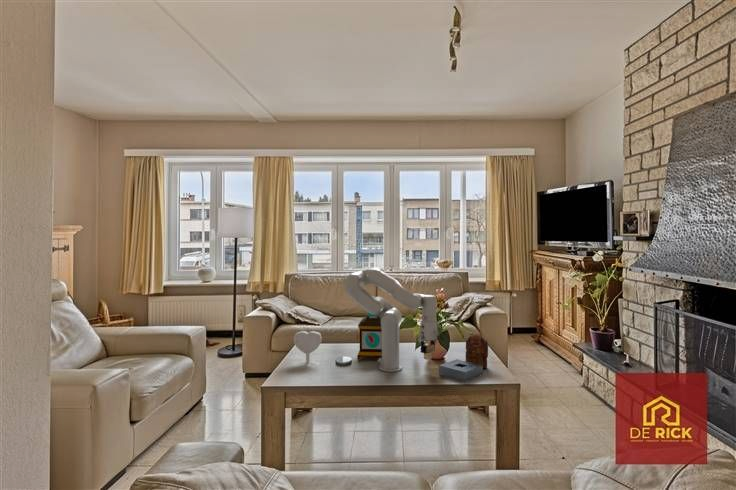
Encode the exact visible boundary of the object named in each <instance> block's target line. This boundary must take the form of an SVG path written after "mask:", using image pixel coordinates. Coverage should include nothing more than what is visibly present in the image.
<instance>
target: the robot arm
mask: <svg viewBox="0 0 736 490" xmlns="http://www.w3.org/2000/svg"><path fill="white" fill-rule="evenodd" d="M366 285H374V286H376V287H377V288H379V289H381V290H382V291H383V292H385V293H387V294H388V295H390V296H391V297H392V298H393V299H394V300H396V302H398V303H400V304H401V305H404V306H405V307H407V308H408V309H410V310H418V309H419V308H421V309H422V310H421V323H420V330H419V336H418V338H417V340H418V342H419V344H420V353H422V354H424V353H426V346H425V345H426V343H428V342H429V343H432V344H434V351H433V352H435V351H436V343H437V338H438V336H439V334H438V333H439V332H438V330H439V329H438V323H437V322H438V321H437V307H438V306H437V303H438V298H437V296H436V295H434V294H421V293H416V292H414V293H412V292H410V291H408V290H407V289H405V288H404V287H403V286H402V285H401V283H400V282H399V281H398V280H397V279H395V278H394V277H392V276H390V275H389V274H388V273H386V272H385V270H384V269H383V268H381V267H379V266H377V267H373V268H369V269H364V270H359V271H355V272H352V273H351V272H350V273H349V274H348V275H347V276H346V278H345V281H344V290H345V292H346V294H347V296H348V297H349V298H350V299H352V300H353V301H354V302H355V303H356V304H358V305H359V306H360V307H361V308H363V310H365V311H366V312H367V313H368V312H369V313H370V314H371V315H374V316H376V315H379V316H381V331H382V357H378V359H377V363H380V364H379V366H378V369H379V370H381V372H385V373H386V372H387V373H389V372H390V373H393V372H394V373H395V372H400V371H402V369H403V366H402V365H401V364H400V329H399V326H400V325H399V324H400V322H401V321H402V318H403V317H402V313H401V311H400V310H399V309H398V308H397V307H396V306H395V305H393V304H392V303H390V302H389V301H388V300H386V299H385V298H384V297H382V296H374V295H372V294H371V293H370V292H369V291H367V290H366V289H365V288H363V287H362V286H366Z"/></svg>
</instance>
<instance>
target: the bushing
mask: <svg viewBox="0 0 736 490" xmlns="http://www.w3.org/2000/svg"><path fill="white" fill-rule="evenodd" d="M425 346H426V353H423V359H424V360H432V353H433V352H435V351H434V344H432V343H431V342H426V345H425Z"/></svg>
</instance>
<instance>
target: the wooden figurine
mask: <svg viewBox="0 0 736 490" xmlns="http://www.w3.org/2000/svg"><path fill="white" fill-rule="evenodd" d="M465 350H466V351H465V361H466V362H470V363H475V364H479V365H483V368H487V369H488V356H489V343H488V341H487V340H485V339H484V338H483V336H481V335H479V334H472V335H470V336H468V338H467V339H466V341H465Z"/></svg>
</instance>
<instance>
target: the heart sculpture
mask: <svg viewBox="0 0 736 490" xmlns="http://www.w3.org/2000/svg"><path fill="white" fill-rule="evenodd" d="M322 339H323V338H322V333H320V332H318V331H314V330H313V331H312V330H311V331H309V332H307V331H305V330H302V331H298V332H296V333H295V334H294V335H293V344H294V346H295V347H296V348H297V349H298V350H299V351H300V352H302V353H303V354H305V361H298V362H296V363H295V364H296V365H303V366H304V365H307V366H308V365H310V366H316V365H317V366H318V365H320V362H319V361H310V356H311V355H310V354H312V353H313V352H315V351H316V350H317V349H318V348H319V347H320V345H321V343H322Z"/></svg>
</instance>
